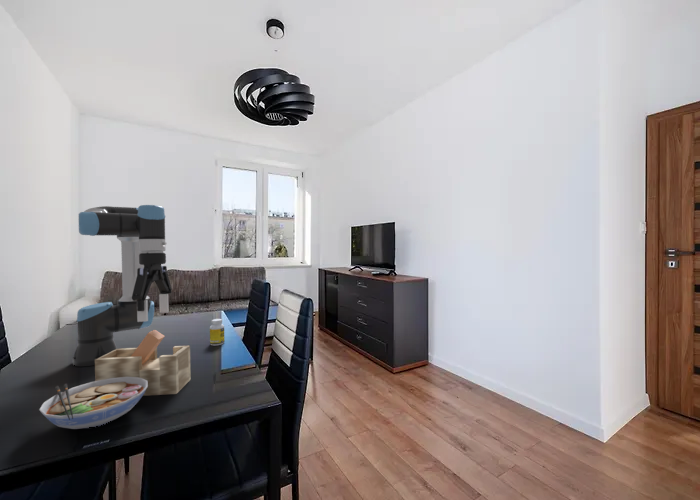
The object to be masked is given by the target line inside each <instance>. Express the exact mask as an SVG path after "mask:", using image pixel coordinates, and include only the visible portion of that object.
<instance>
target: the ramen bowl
mask: <svg viewBox="0 0 700 500" xmlns="http://www.w3.org/2000/svg"><path fill="white" fill-rule="evenodd" d="M147 387H148V381H147V380H145V379H142V378H139V377H118V378H109V379H104V380H99V381H95V380H94V381H89V382H87V383H86V382H85V383H83V384H80V385H77V386H74V387H71V388H69V389H68V383H64V384H63V388H64V391H61V389H60V387H59V385H55V389H56V392H57V393H56V394H55V395H53V396H52V397H50V398H48V399H46V400H45V401H44V402H43V403H42V404H41V406H40V408H38V411H40V413H41V414H42V415H43V416H44V417H45V418H46V419H47V420H48V421H49V422H50V423H51V424H53V425H55V426H57V427H59V428H63V429H70V430H79V429H90V428H89V427H95V428H97V427H96V426H98V427H101V425H102V426H104V425H106V423H107V424H108V422H109V423H111V422H112V421H114V420H117V419H118V418H120V417H122V416H123V415H125V414H127V413H128V412H130V411H131V410H132V409H133V408H134V407H135V405H137V404H138V403H139V401H140V400H141V399H142V397H144V396H143V394H144V393H145V391H146V389H147ZM110 421H111V422H110ZM103 424H104V425H103Z"/></svg>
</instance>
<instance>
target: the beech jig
mask: <svg viewBox="0 0 700 500" xmlns="http://www.w3.org/2000/svg"><path fill="white" fill-rule="evenodd" d="M136 349H137V347H124V348H123V347H122V348H117V349H116V350H114V351H112V352H110V353H108V354H106V355H104V356H102V357H100V358H98V359H96V360H95V365H94V375H95V376H94V379H95V380H94V381H99V380H104V379H109V378H118V377H139V378H142V379H145V380H147V381H148V387H147V389H146V391H145V393H144V394H143V396H142V397H145V396H160V395H162V396H163V395H165V396H166V395H177V394H178V393H179V392H180V391H181V390H182V389H183V388H184V387H185V386H186V385H187V384H188V383H189V382H190V381H191V376H192V374H191V346H190V345H174V346H173V347H172V354H162V355H159V357H158V347H157V348H156V349H155V350H154V352H153V353H152V354H151V356H150V357H149V359H148V360H147V361H146V362H145V363H144V364H142V356H135V357H131V356H132V354H133V353H134V352H135V350H136Z"/></svg>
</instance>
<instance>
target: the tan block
mask: <svg viewBox="0 0 700 500" xmlns="http://www.w3.org/2000/svg"><path fill="white" fill-rule="evenodd" d="M164 338H165V335H164V334H162V333H161V332H159V331H158V330H156V329H153V330H151V331H149V332H148V333H146V335H145V337H143V339H142V341H141V342H140V344H138V346H137V347H136V348H137V349H136V350H135V352H134V353H133V354H132V356H131V357H135V356H142V364H144V363H145V362H146V361H147V360H148V359H149V357H150V356H151V354H152V353H153V352H154V350H155V349H156V348H157V349H158V346H159V345H160V343H161V342H162V341H163V340H164Z"/></svg>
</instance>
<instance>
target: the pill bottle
mask: <svg viewBox="0 0 700 500" xmlns="http://www.w3.org/2000/svg"><path fill="white" fill-rule="evenodd" d="M225 342H226V341H225V325H224V324H223V319H221V318H214V319H211V325H210V326H209V344H210V345H211V346H222V345H223V344H225Z"/></svg>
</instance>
